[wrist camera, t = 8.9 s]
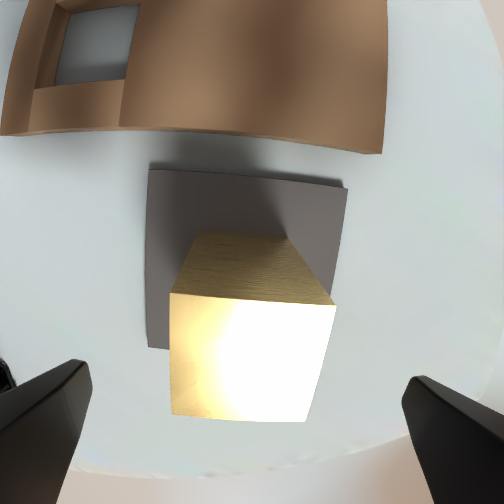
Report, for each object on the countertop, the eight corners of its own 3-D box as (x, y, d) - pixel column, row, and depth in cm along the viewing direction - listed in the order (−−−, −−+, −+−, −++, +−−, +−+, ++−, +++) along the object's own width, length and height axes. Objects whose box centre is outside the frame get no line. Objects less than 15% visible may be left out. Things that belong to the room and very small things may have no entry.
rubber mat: (150, 341, 18) (147, 347, 17) (151, 169, 15) (148, 169, 15) (313, 352, 19) (316, 358, 18) (344, 188, 16) (347, 189, 15)
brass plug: (194, 309, 17) (171, 414, 9) (199, 228, 16) (170, 293, 8) (275, 315, 17) (304, 420, 9) (287, 237, 16) (335, 306, 8)
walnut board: (19, 136, 14) (-1, 135, 12) (50, -7, 11) (36, -19, 9) (365, 154, 16) (381, 153, 14) (372, 0, 13) (385, -14, 11)
